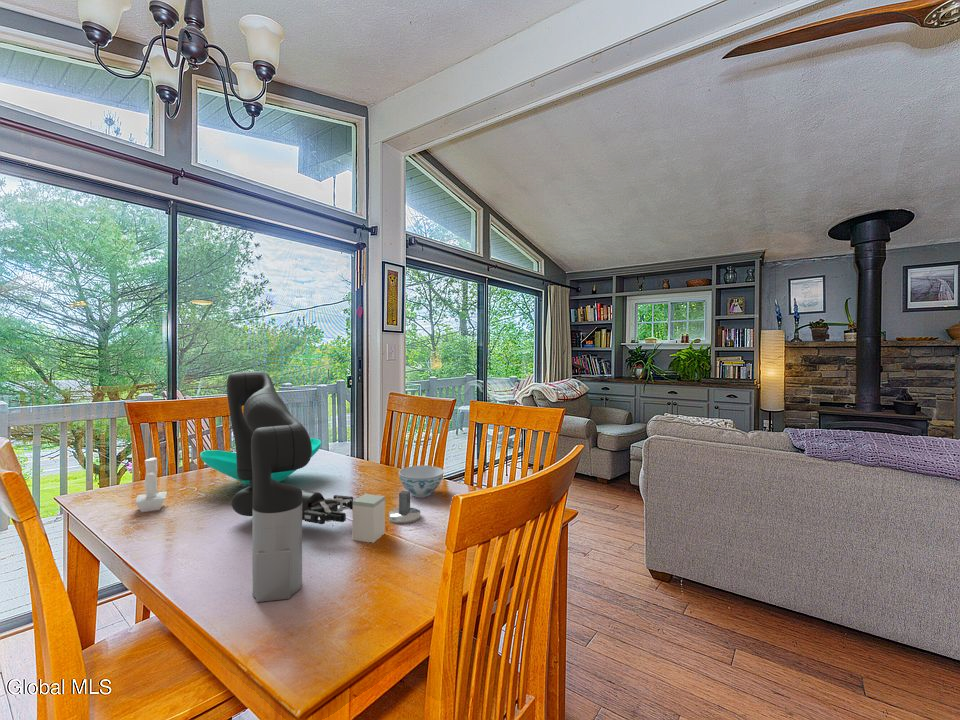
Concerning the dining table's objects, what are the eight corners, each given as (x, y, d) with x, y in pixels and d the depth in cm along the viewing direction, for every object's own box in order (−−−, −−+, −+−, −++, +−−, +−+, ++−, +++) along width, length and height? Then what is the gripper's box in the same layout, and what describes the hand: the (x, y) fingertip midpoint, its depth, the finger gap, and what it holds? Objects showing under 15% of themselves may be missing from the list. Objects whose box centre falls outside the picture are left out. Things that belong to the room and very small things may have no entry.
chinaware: (392, 490, 155) (393, 468, 155) (433, 485, 162) (434, 463, 161) (406, 504, 141) (406, 480, 141) (450, 497, 148) (450, 474, 148)
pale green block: (373, 543, 114) (373, 503, 113) (352, 539, 115) (352, 501, 115) (384, 533, 119) (385, 496, 119) (364, 530, 121) (365, 493, 121)
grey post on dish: (412, 525, 125) (412, 499, 125) (382, 521, 127) (383, 495, 127) (425, 514, 134) (425, 489, 133) (397, 510, 136) (397, 486, 136)
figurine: (134, 516, 128) (133, 463, 128) (138, 505, 136) (137, 456, 136) (165, 511, 132) (164, 460, 132) (167, 501, 140) (167, 454, 140)
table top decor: (209, 506, 137) (209, 463, 136) (192, 484, 157) (191, 447, 157) (334, 482, 163) (335, 445, 163) (306, 466, 184) (306, 433, 183)
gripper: (283, 499, 116) (338, 506, 111) (318, 483, 130) (368, 489, 125) (283, 528, 116) (338, 536, 112) (317, 509, 130) (368, 516, 125)
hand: (354, 511), depth 118 cm, fingers open, 8 cm apart
